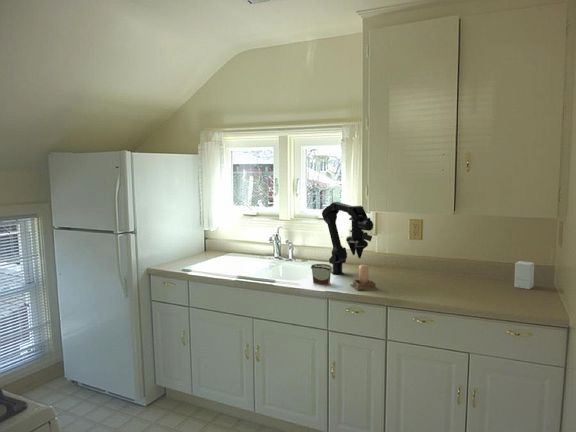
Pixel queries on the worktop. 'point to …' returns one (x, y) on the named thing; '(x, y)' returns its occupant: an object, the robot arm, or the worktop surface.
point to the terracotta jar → (363, 274)
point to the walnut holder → (364, 285)
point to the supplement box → (524, 274)
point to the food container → (321, 273)
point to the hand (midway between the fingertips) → (356, 256)
